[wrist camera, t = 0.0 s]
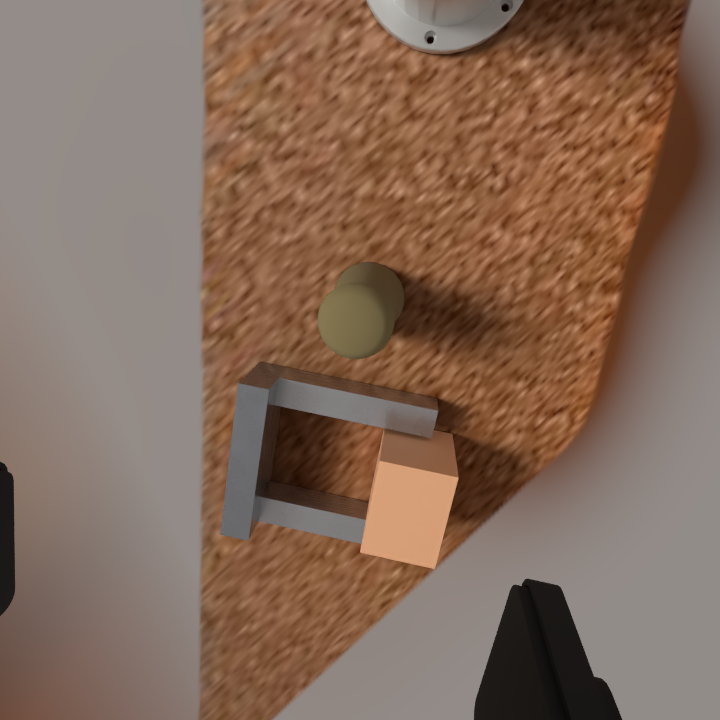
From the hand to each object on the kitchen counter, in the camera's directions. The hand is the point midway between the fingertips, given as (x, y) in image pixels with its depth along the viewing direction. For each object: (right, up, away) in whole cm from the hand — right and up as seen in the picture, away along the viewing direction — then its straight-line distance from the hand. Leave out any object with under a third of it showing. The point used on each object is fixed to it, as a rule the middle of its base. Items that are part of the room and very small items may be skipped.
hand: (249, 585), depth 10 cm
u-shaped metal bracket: (0, -4, +40) cm, 40 cm away
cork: (+3, +9, +36) cm, 37 cm away
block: (+7, -6, +39) cm, 40 cm away
